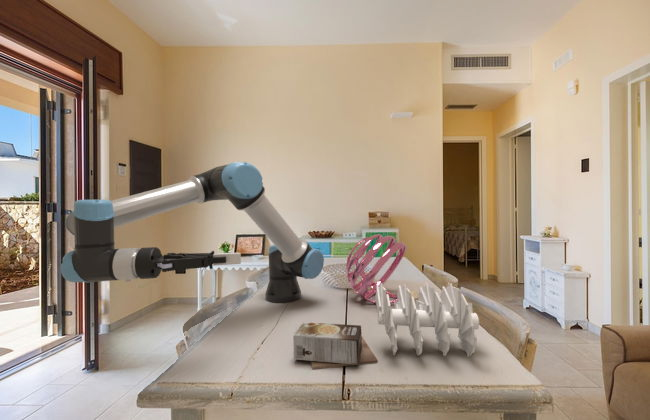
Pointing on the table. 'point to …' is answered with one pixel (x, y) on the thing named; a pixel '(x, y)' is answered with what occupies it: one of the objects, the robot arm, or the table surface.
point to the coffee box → (328, 343)
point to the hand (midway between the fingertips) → (240, 258)
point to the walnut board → (365, 358)
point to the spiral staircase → (429, 316)
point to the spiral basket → (367, 259)
